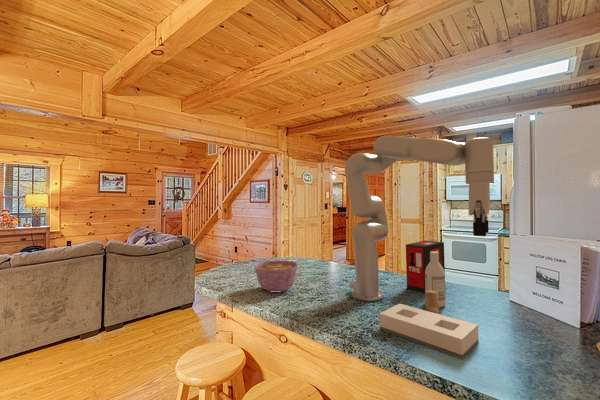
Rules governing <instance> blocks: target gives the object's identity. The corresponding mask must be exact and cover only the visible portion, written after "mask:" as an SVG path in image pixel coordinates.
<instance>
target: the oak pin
mask: <svg viewBox="0 0 600 400" xmlns="http://www.w3.org/2000/svg"><path fill="white" fill-rule="evenodd" d="M424 297H425V311H429V312H433V313H436V314H440V313H439V312H440V307H439V302H438V292H436V291H431V290H428V291H425V296H424Z"/></svg>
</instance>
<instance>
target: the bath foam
mask: <svg viewBox="0 0 600 400" xmlns="http://www.w3.org/2000/svg"><path fill="white" fill-rule="evenodd" d="M428 290H431V291H436V292H438V302H439V308H444V307H445V306H446V300H447V299H446V298H447V297H446V272H444V269H443V267H442V266H441V264H440V263H439V255H438V252H430V262H429V264H428V265H427V267H426V270H425V291H428Z"/></svg>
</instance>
